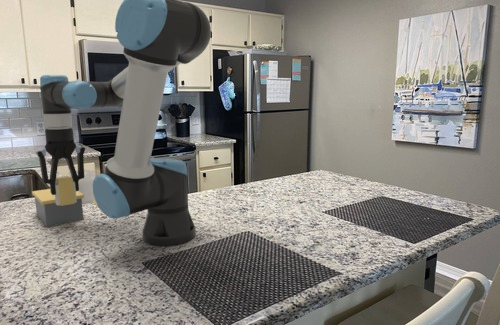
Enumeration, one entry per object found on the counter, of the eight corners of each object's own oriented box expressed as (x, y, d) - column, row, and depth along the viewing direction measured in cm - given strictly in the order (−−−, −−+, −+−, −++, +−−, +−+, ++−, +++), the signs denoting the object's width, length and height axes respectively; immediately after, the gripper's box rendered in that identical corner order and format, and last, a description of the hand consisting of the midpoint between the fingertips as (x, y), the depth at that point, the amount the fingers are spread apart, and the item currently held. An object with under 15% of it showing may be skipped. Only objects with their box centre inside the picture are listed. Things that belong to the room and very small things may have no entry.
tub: (83, 221, 125) (81, 197, 124) (46, 228, 118) (44, 204, 117) (71, 210, 136) (69, 189, 135) (37, 216, 130) (34, 194, 128)
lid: (88, 201, 120) (86, 176, 118) (45, 208, 112) (43, 182, 111) (70, 188, 136) (68, 166, 134) (32, 194, 128) (29, 171, 127)
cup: (100, 199, 150) (98, 170, 148) (89, 206, 141) (86, 175, 139) (79, 199, 151) (76, 169, 149) (66, 205, 142) (63, 174, 140)
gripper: (84, 125, 121) (90, 195, 126) (24, 128, 111) (32, 205, 115) (92, 126, 116) (98, 200, 120) (28, 130, 105) (37, 211, 109)
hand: (66, 202), depth 117 cm, fingers closed on lid, 4 cm apart
